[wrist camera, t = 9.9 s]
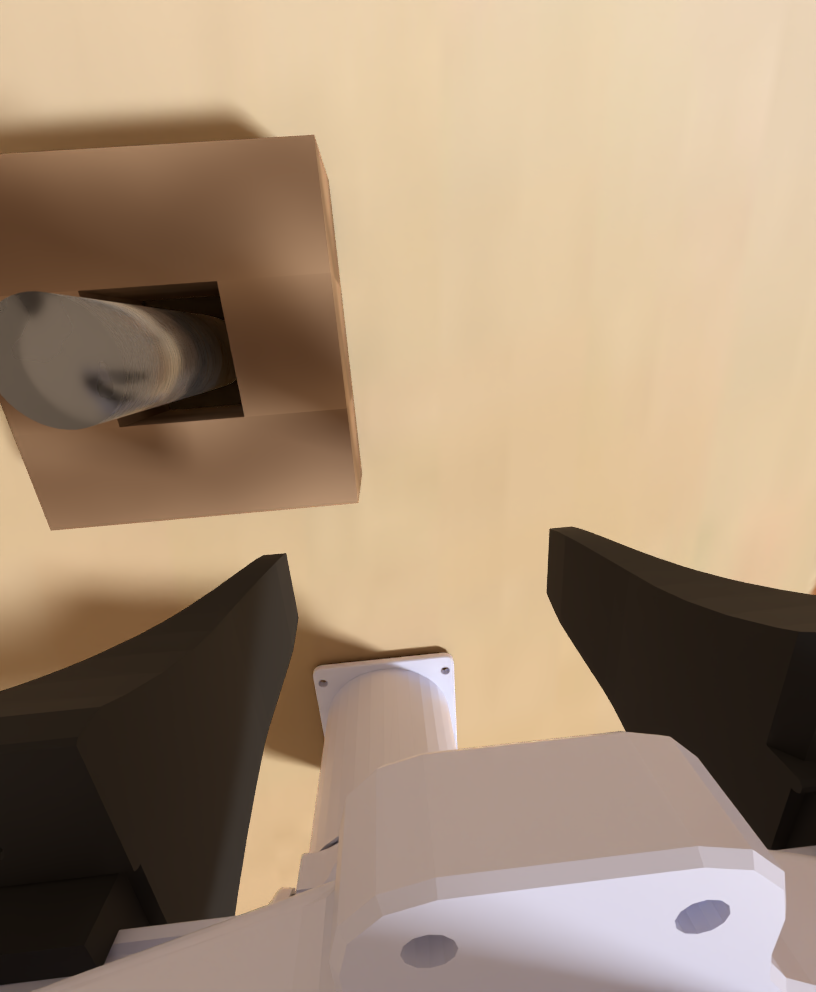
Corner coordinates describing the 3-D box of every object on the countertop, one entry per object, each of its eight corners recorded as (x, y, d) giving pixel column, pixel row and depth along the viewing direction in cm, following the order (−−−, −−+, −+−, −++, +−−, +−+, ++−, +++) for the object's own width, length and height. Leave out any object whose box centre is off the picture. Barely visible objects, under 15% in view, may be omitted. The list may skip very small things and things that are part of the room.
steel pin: (251, 384, 19) (140, 423, 10) (183, 390, 19) (12, 435, 10) (236, 311, 18) (98, 285, 9) (164, 318, 18) (-44, 297, 9)
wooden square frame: (362, 473, 21) (358, 502, 17) (110, 495, 21) (51, 530, 17) (328, 180, 17) (314, 134, 13) (12, 200, 16) (-96, 159, 13)
